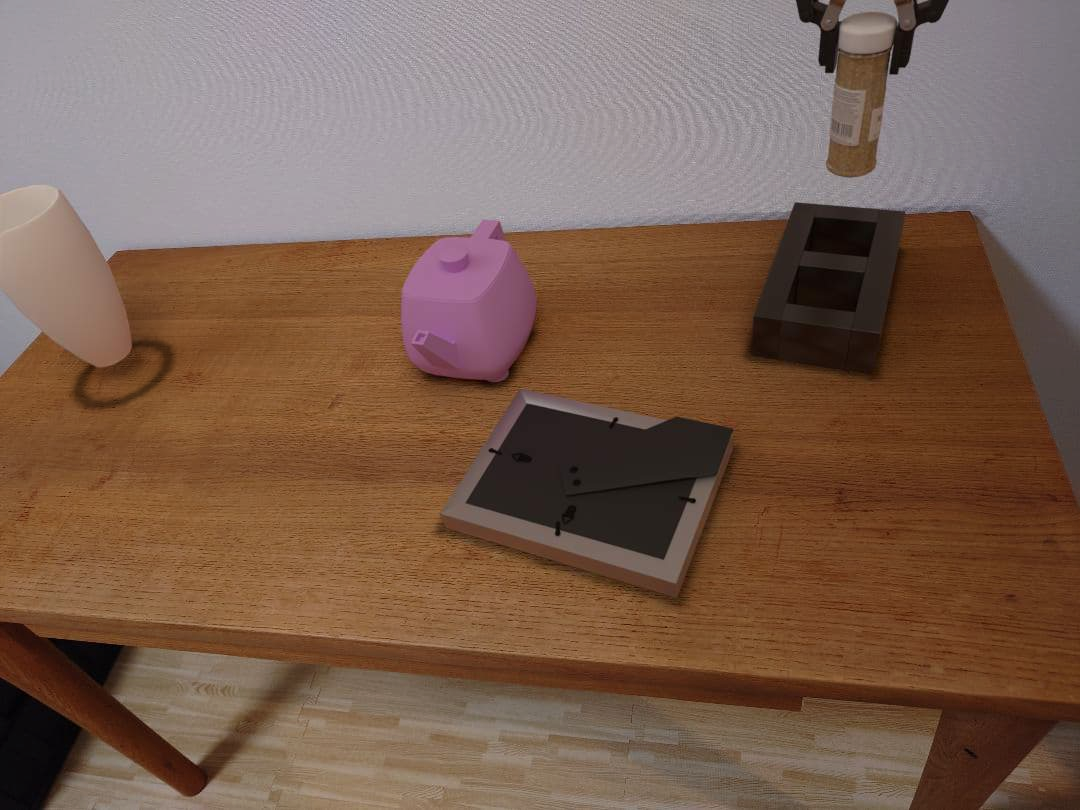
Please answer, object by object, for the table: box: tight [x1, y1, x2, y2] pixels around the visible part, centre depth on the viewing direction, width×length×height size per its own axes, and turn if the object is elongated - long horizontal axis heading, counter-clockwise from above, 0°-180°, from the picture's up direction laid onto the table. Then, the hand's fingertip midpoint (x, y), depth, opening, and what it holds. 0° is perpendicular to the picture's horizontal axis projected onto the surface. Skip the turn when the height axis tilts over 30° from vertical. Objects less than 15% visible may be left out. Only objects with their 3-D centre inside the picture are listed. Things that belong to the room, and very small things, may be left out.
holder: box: [751, 201, 907, 375], centre depth 81 cm, size 11×20×5 cm, turn 157°
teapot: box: [400, 219, 538, 383], centre depth 81 cm, size 20×12×13 cm, turn 161°
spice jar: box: [825, 11, 898, 179], centre depth 71 cm, size 5×5×13 cm
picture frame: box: [439, 388, 734, 599], centre depth 69 cm, size 16×3×21 cm
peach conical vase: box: [0, 184, 133, 368], centre depth 85 cm, size 10×10×22 cm
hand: (862, 69), depth 69 cm, fingers closed on spice jar, 4 cm apart
